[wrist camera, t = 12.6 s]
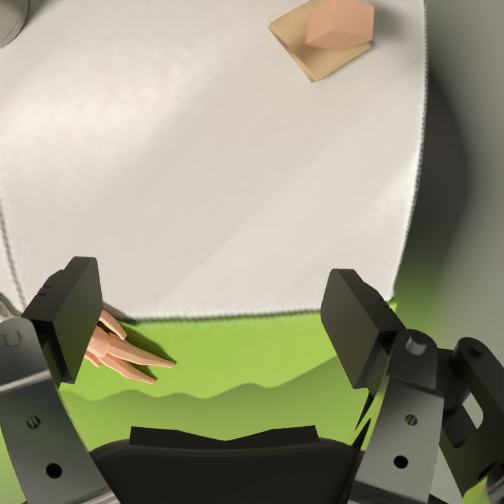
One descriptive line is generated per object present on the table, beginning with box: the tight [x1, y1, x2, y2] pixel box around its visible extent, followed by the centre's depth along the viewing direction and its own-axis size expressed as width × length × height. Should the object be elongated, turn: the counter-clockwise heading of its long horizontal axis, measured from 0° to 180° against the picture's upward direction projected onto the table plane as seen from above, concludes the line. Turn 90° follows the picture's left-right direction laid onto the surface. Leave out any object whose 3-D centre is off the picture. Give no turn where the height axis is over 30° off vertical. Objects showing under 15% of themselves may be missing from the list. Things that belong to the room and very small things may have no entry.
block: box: [305, 0, 374, 51], centre depth 26 cm, size 4×4×9 cm
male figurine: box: [84, 309, 174, 384], centre depth 46 cm, size 11×5×25 cm
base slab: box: [268, 0, 371, 83], centre depth 31 cm, size 9×9×3 cm
